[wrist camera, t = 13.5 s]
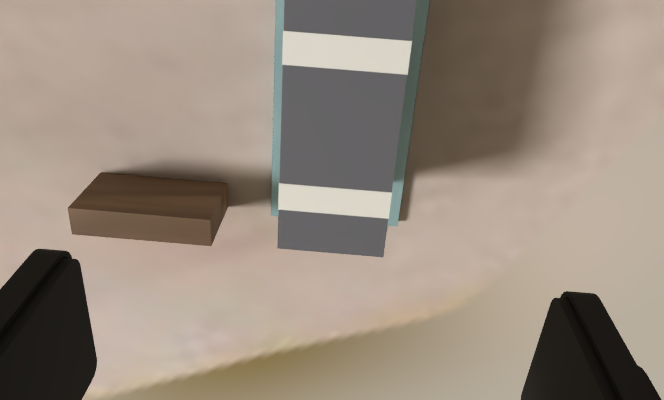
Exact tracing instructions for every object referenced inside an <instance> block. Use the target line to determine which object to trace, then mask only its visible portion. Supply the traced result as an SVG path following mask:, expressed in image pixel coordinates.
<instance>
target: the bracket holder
mask: <svg viewBox="0 0 664 400" xmlns="http://www.w3.org/2000/svg"><path fill="white" fill-rule="evenodd" d="M227 208H228V196H227V183H215V182H203V181H191V180H179V179H168V178H156V177H144V176H132V175H120V174H108V173H100V174H99V175H98V176H97V177H96V178H95V179H94V180H93V181H92V182H91V184H90V185H89V186H88V187H87V188H86V189H85V190H84V191H83V192H82V193H81V194H80V195H79V196H78V198H77V199H76V200H75V201H74V202H73V203H72V204H71V205H70V206H69V207H68V212H69V218H70V224H71V230H72V234H76V235H88V236H100V237H111V238H123V239H135V240H147V241H158V242H170V243H182V244H193V245H205V246H211V245H212V243H213V241H214V238H215V236H216V234H217V231H218V229H219V227H220V224H221V222H222V220H223V217H224V215H225V213H226V210H227Z"/></svg>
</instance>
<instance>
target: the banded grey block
mask: <svg viewBox="0 0 664 400" xmlns="http://www.w3.org/2000/svg"><path fill="white" fill-rule="evenodd" d="M416 3H417V0H284V30H283V48H282V65H283V71H282V107H281V143H280V179H279V195H278V210H279V215H278V248H280V249H292V250H304V251H316V252H328V253H340V254H352V255H363V256H375V257H383V255H384V247H385V239H386V232H387V224H388V219H389V213H390V205H391V198H392V186H393V178H394V171H395V163H396V155H397V148H398V140H399V132H400V125H401V117H402V110H403V102H404V94H405V87H406V79H407V75H408V68H409V61H410V53H411V46H412V33H413V25H414V18H415V10H416Z"/></svg>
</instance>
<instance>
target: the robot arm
mask: <svg viewBox="0 0 664 400" xmlns="http://www.w3.org/2000/svg"><path fill="white" fill-rule="evenodd" d="M96 366H97V357H96V352H95V346H94V340H93V335H92V329H91V323H90V318H89V312H88V306H87V301H86V295H85V289H84V284H83V278H82V272H81V267H80V263H79V261H78V260H77V259H72V257H71V255H70V253H69V252H67V251H60V250H48V249H36V250H35V251H33V252H32V253H31V255H30V256H29V257H28V258H27V259H26V260H25V261H24V263H23V264H22V265H21V266H20V267H19V268H18V270H17V271H16V272H15V273H14V274H13V275H12V277H11V278H10V279H9V280H8V281H7V282H6V283H5V285H4V286H3V287H2V288H1V289H0V400H82V398H83V396H84V394H85V392H86V390H87V389H88V387H89V385H90V383H91V381H92V379H93V377H94V375H95V371H96ZM521 400H661V398H660V397H659V395H658V393H657V391H656V390H655V388H654V386H653V384H652V383H651V381H650V379H649V377H648V376H647V374H646V373H645V372H644V370H643V369H642V368H641V367H639V366H638V365H637V364H636V362H635V361H634V359H633V357H632V355H631V354H630V352H629V350H628V348H627V346H626V345H625V343H624V341H623V339H622V338H621V336H620V334H619V332H618V330H617V329H616V327H615V325H614V323H613V322H612V320H611V318H610V316H609V315H608V313H607V311H606V309H605V307H604V306H603V304H602V302H601V300H600V298H599V297H598V296H597V295H596V294H591V293H580V292H568V291H567V292H564V293H563V294H562V295H561V297H560V298H554V299H553V300H552V302H551V304H550V307H549V311H548V313H547V317H546V320H545V323H544V326H543V329H542V332H541V335H540V338H539V341H538V345H537V348H536V351H535V354H534V357H533V360H532V363H531V366H530V369H529V373H528V376H527V379H526V382H525V385H524V388H523V391H522V395H521Z"/></svg>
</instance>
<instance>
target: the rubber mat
mask: <svg viewBox="0 0 664 400" xmlns="http://www.w3.org/2000/svg"><path fill="white" fill-rule="evenodd" d="M429 1H430V0H417V3H416V10H415V18H414V25H413V33H412V46H411V53H410V61H409V68H408V75H407V79H406V87H405V94H404V102H403V110H402V117H401V125H400V132H399V140H398V148H397V155H396V163H395V171H394V178H393V186H392V198H391V205H390V213H389V219H388V224H387V225H388V226H398V219H399V212H400V205H401V198H402V191H403V184H404V177H405V170H406V163H407V156H408V149H409V142H410V135H411V128H412V121H413V114H414V107H415V100H416V93H417V86H418V79H419V72H420V64H421V57H422V50H423V43H424V36H425V29H426V22H427V15H428V8H429ZM283 30H284V0H276V10H275V54H274V99H273V144H272V189H271V216H278V215H279V210H278V195H279V179H280V143H281V107H282V71H283V65H282V48H283Z"/></svg>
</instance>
